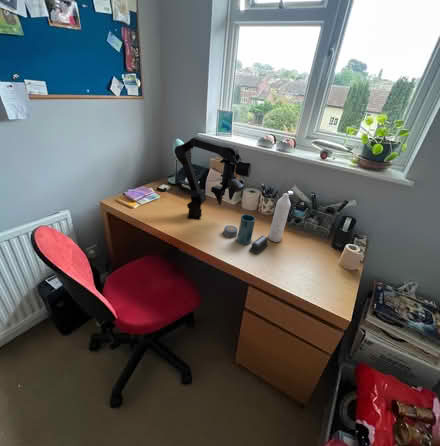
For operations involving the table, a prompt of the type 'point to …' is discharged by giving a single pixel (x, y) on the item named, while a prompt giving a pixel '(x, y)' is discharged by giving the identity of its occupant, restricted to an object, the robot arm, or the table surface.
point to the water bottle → (280, 217)
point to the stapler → (259, 244)
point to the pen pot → (246, 229)
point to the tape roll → (230, 231)
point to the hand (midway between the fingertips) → (225, 202)
